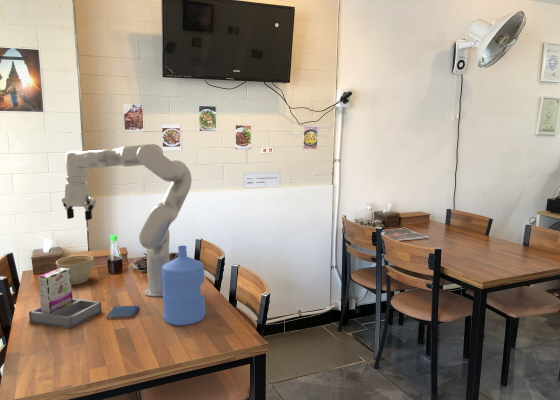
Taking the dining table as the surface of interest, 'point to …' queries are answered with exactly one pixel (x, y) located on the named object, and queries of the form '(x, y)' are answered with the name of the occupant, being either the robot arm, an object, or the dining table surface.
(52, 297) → the candy bar box
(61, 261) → the planter bowl
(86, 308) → the tray
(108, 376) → the dining table surface
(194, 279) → the water jug
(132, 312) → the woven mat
